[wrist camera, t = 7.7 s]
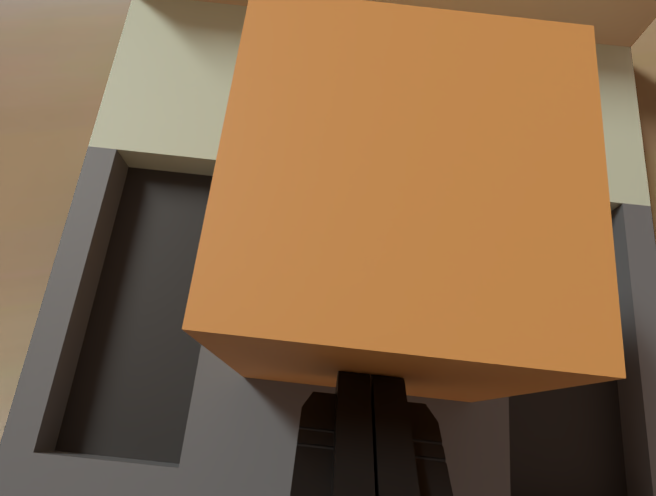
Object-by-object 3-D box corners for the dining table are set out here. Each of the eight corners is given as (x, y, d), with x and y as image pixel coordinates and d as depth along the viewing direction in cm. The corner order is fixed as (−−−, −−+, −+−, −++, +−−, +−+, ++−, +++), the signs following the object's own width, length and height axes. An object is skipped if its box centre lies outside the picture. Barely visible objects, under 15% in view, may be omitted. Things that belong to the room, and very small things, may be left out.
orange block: (471, 402, 15) (626, 379, 8) (243, 377, 15) (180, 329, 8) (473, 195, 18) (594, 25, 10) (275, 173, 18) (250, -13, 10)
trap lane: (709, 1017, 12) (958, 1383, 8) (-110, 932, 12) (-370, 1245, 8) (607, 49, 22) (688, -54, 17) (150, 0, 22) (108, -116, 17)
